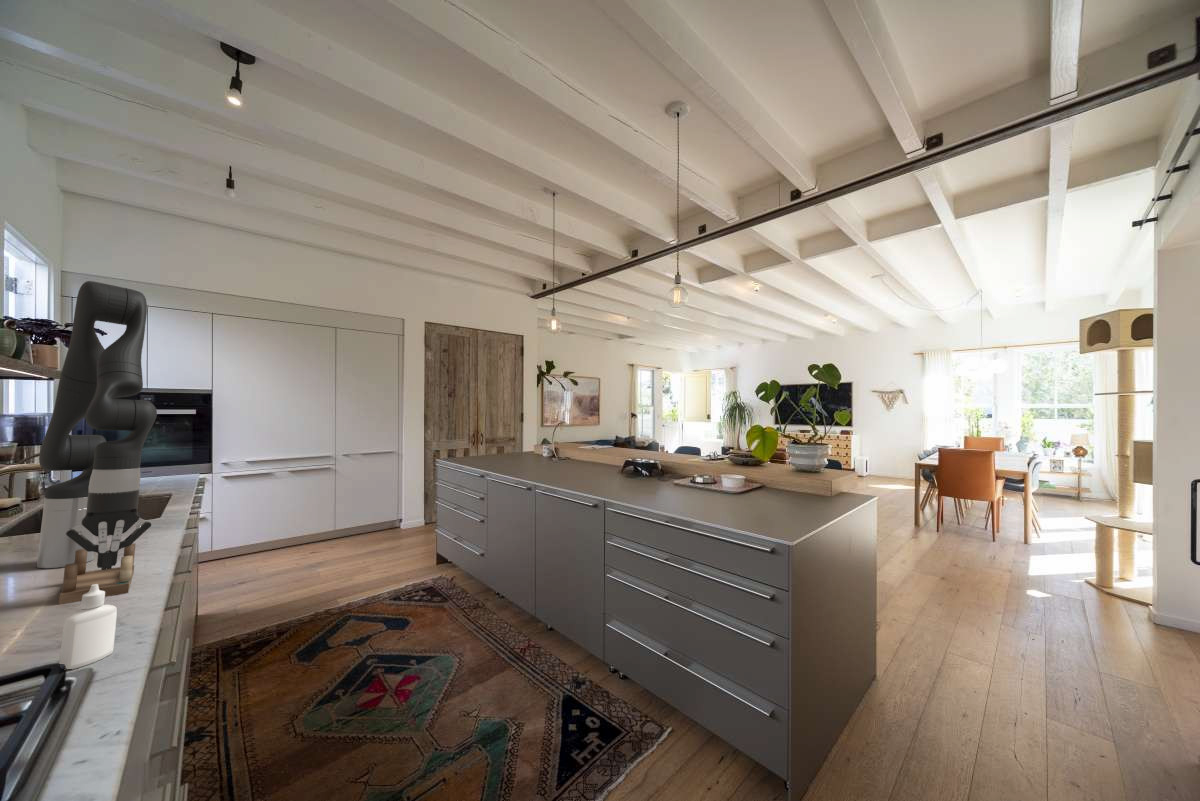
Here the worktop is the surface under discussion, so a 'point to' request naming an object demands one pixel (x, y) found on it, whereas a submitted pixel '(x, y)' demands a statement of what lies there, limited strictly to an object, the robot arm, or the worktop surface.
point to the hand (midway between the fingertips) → (106, 568)
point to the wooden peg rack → (92, 578)
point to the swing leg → (126, 568)
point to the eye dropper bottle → (89, 631)
